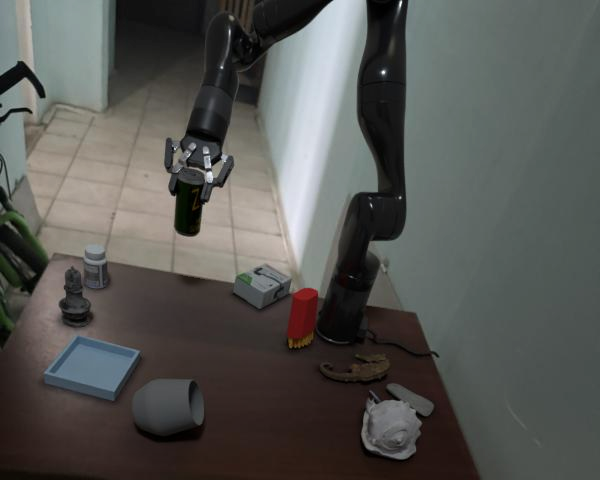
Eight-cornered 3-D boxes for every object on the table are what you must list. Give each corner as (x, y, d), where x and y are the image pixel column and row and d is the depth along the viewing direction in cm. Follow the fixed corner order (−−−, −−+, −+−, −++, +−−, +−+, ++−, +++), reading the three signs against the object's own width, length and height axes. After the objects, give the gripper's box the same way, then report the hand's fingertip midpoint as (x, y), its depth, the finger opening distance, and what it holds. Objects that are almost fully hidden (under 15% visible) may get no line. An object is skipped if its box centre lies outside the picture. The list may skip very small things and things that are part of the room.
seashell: (377, 406, 106) (394, 368, 99) (423, 453, 98) (444, 415, 92) (331, 421, 99) (345, 381, 93) (376, 473, 92) (395, 433, 85)
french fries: (287, 296, 106) (281, 346, 113) (303, 303, 104) (296, 353, 112) (310, 284, 112) (303, 332, 119) (325, 290, 110) (317, 338, 117)
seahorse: (341, 384, 103) (340, 396, 105) (401, 362, 111) (399, 374, 113) (315, 363, 109) (314, 376, 111) (373, 344, 117) (372, 356, 119)
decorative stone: (390, 383, 112) (381, 394, 108) (392, 378, 111) (383, 389, 108) (434, 408, 109) (426, 420, 106) (436, 404, 108) (428, 415, 105)
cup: (154, 411, 92) (208, 404, 91) (143, 450, 85) (201, 443, 84) (133, 371, 86) (191, 362, 85) (119, 409, 79) (181, 400, 78)
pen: (415, 437, 100) (371, 389, 107) (413, 437, 100) (369, 389, 107) (412, 440, 101) (368, 392, 108) (410, 440, 100) (367, 392, 107)
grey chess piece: (96, 315, 106) (94, 262, 98) (84, 331, 101) (81, 277, 94) (67, 308, 105) (63, 254, 98) (54, 323, 101) (48, 269, 93)
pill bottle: (100, 275, 116) (99, 241, 111) (111, 286, 114) (111, 251, 109) (80, 280, 113) (78, 245, 108) (91, 291, 111) (90, 256, 106)
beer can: (168, 230, 106) (172, 171, 98) (182, 222, 110) (186, 165, 102) (191, 240, 106) (197, 181, 98) (204, 231, 110) (211, 174, 102)
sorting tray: (140, 360, 99) (140, 350, 98) (114, 401, 90) (114, 391, 88) (77, 343, 98) (76, 333, 97) (44, 383, 89) (43, 373, 88)
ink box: (235, 275, 120) (265, 261, 129) (232, 293, 123) (261, 279, 132) (264, 292, 118) (293, 277, 126) (260, 310, 121) (289, 294, 129)
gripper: (171, 96, 99) (147, 179, 98) (244, 117, 99) (221, 200, 98) (178, 119, 106) (155, 197, 105) (246, 139, 107) (224, 216, 106)
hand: (187, 198), depth 102 cm, fingers closed on beer can, 5 cm apart
